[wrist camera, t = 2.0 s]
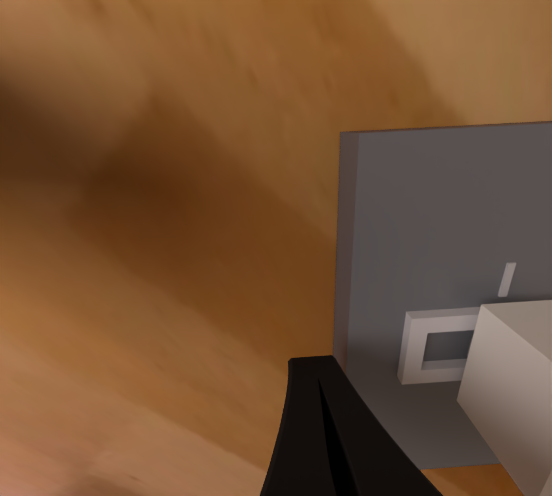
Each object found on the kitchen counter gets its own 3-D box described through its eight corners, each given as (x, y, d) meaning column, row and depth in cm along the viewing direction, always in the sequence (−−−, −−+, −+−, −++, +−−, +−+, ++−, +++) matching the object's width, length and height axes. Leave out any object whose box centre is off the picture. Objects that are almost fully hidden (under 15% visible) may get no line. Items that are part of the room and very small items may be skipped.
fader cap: (514, 386, 11) (630, 505, 7) (450, 391, 11) (536, 513, 7) (546, 292, 9) (711, 388, 6) (472, 297, 9) (594, 396, 6)
